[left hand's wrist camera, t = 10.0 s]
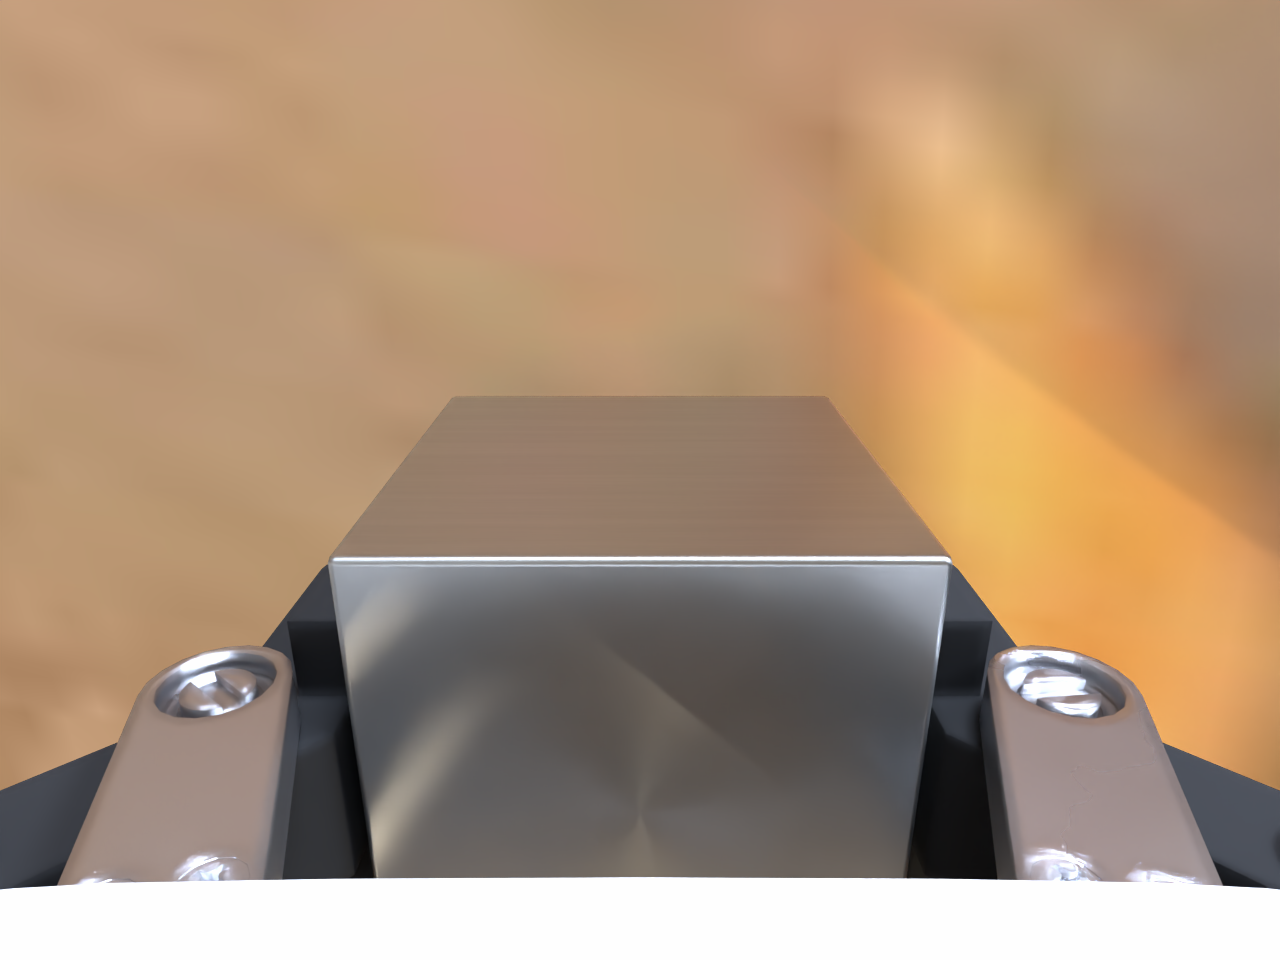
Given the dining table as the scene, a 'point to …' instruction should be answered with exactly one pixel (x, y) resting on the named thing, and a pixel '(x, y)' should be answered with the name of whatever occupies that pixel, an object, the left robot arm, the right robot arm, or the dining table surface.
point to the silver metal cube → (640, 644)
